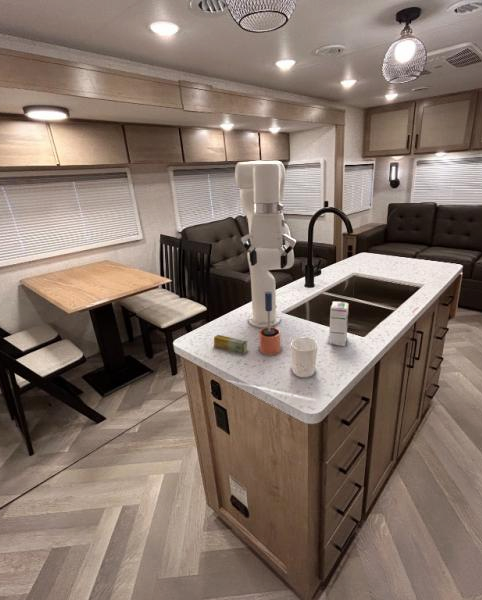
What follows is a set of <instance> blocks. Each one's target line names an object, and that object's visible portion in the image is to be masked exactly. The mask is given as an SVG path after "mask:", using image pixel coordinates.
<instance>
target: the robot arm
mask: <svg viewBox="0 0 482 600" xmlns="http://www.w3.org/2000/svg"><path fill="white" fill-rule="evenodd" d="M286 173H287V172H286V168H285V165H284V164H283V162H282V161H279V160H252V161H251V160H250V161H243V162H242V161H239V162H237V163H236V165H235V169H234V180H235V184H236V186H237V188H238V189H239V200H240V205H241V208H242V210H243V212H244V214H245V216H246V219H247V223H248V233H247V234H245V235H244V236H242V237H240V241H241V242H242V244H243V247H244V248H245V250H247V255H246V257H247V262H248V269H249V273H250V275H249V276H250V289H251V290H250V291H251V309H252V310H251V311H252V315H250V316H249V318H248V322H249V323H250V325H252V326H254V327H257V328H267V327H268V311H266V310H265V292H271V293H272V311H270V327H275V326H276V325H278V324H279V323H280V322H281V321H280V320H281V318H280V316H279V314H277V308H278V305H277V303H276V301H277V298H276V296H277V295H276V293H277V291H276V288H277V287H276V279H275V277H274V275H273V274H272V273H271V272H270V271H272V270H287V269H291V268H292V267H293V266H294V263H295V254H294V253H295V252H294V247H295V245H296V243H297V240H296V239H295V238H293V237H292V235H291V231H290V227H289V225H288V224H287V223H285V217H284V216H285V215H284V213H282V211H285V209H286V206H285V204H282V200H283V198H284V192H285V184H286V175H287V174H286ZM249 241H250V243H249Z"/></svg>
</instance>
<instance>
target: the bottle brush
mask: <svg viewBox="0 0 482 600" xmlns="http://www.w3.org/2000/svg"><path fill="white" fill-rule="evenodd" d="M265 310H266V311H268V329H267V330H265V331H264V336H267V337H273V336H275V331H274V330H272V329H270V311H272V293H271V292H265Z"/></svg>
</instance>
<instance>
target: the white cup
mask: <svg viewBox="0 0 482 600" xmlns="http://www.w3.org/2000/svg"><path fill="white" fill-rule="evenodd" d="M318 344H319V343H318V341H317V340H315V339H314V338H312V337H307V336H299V337H296V338H294V339H293V340H291V342H290V350H291V351H290V352H291V354H290V355H291V365H292V366H291V367H292V372H293V375H295V376H297V377H300V378H308V377H311V376H313V375H314V374H315V369H316V364H317V354H318V346H319V345H318Z"/></svg>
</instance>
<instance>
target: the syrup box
mask: <svg viewBox="0 0 482 600" xmlns="http://www.w3.org/2000/svg"><path fill="white" fill-rule="evenodd" d="M349 305H350V304H349V302H346V301H332V303H331V305H330V308H329V310H330V311H329V312H330V313H329V336H328V344H332V345H333V346H340V347H345V346H346V342H347V336H348V324H349V323H348V322H349Z"/></svg>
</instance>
